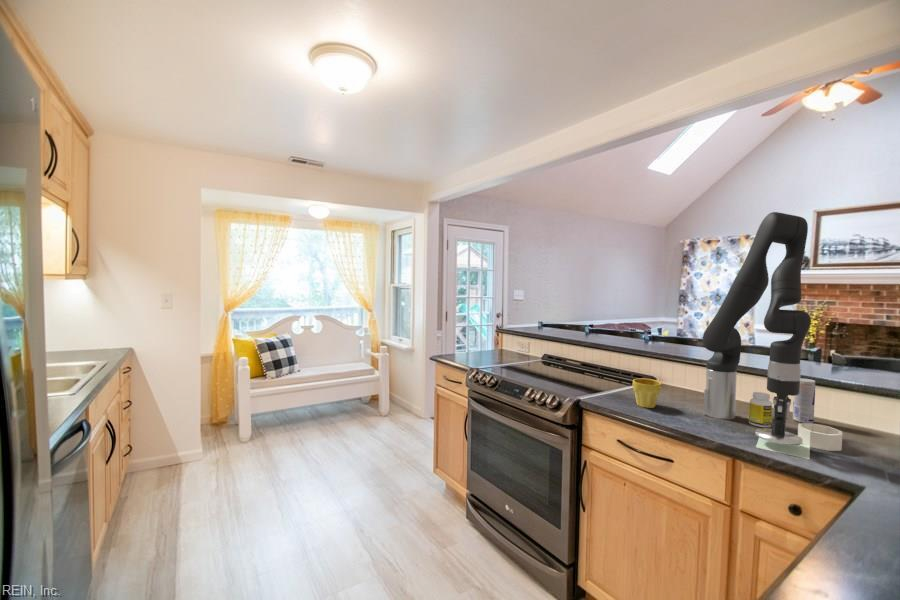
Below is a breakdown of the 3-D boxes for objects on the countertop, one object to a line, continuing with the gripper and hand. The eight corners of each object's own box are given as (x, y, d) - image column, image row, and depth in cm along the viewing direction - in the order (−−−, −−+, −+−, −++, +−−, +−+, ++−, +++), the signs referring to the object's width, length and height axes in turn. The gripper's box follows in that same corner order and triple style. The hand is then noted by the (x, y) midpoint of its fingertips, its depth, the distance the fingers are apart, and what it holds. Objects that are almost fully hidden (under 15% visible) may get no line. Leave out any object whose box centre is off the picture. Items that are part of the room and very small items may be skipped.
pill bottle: (765, 429, 135) (766, 397, 135) (745, 423, 141) (746, 392, 140) (775, 426, 138) (776, 394, 137) (754, 420, 143) (755, 390, 143)
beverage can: (817, 424, 140) (819, 381, 139) (799, 423, 141) (800, 381, 140) (806, 419, 145) (808, 378, 144) (789, 418, 146) (790, 377, 146)
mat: (755, 448, 120) (755, 447, 120) (759, 436, 129) (759, 435, 129) (809, 460, 112) (809, 459, 112) (809, 447, 121) (810, 445, 121)
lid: (752, 437, 121) (753, 419, 120) (757, 427, 129) (758, 410, 128) (801, 448, 113) (802, 428, 113) (803, 437, 121) (804, 418, 121)
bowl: (797, 445, 122) (797, 429, 122) (798, 436, 129) (798, 420, 129) (842, 454, 116) (842, 437, 115) (840, 444, 123) (841, 428, 123)
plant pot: (664, 410, 155) (665, 385, 155) (636, 408, 157) (636, 384, 156) (655, 402, 165) (656, 378, 165) (629, 401, 167) (629, 377, 167)
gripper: (770, 370, 127) (767, 424, 128) (764, 378, 117) (761, 436, 118) (801, 374, 122) (798, 430, 123) (798, 383, 112) (795, 444, 113)
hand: (780, 433), depth 121 cm, fingers closed on lid, 3 cm apart
